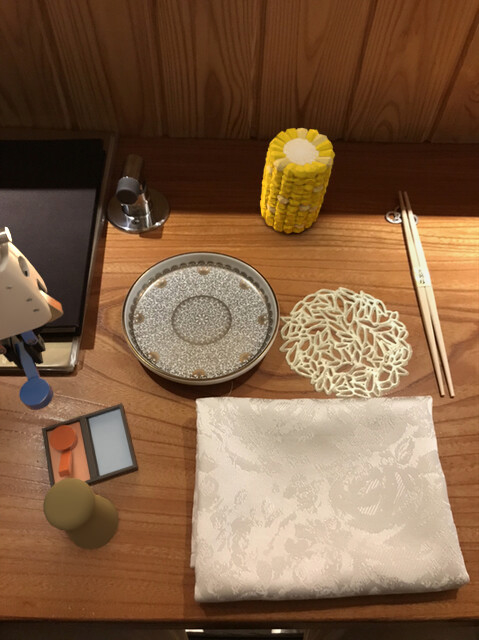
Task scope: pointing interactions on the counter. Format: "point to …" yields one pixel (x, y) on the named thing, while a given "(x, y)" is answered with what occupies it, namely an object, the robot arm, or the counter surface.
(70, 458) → the terracotta spoon
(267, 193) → the food
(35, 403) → the blue spoon
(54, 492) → the olive waisted cylinder
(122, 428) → the sorting tray
